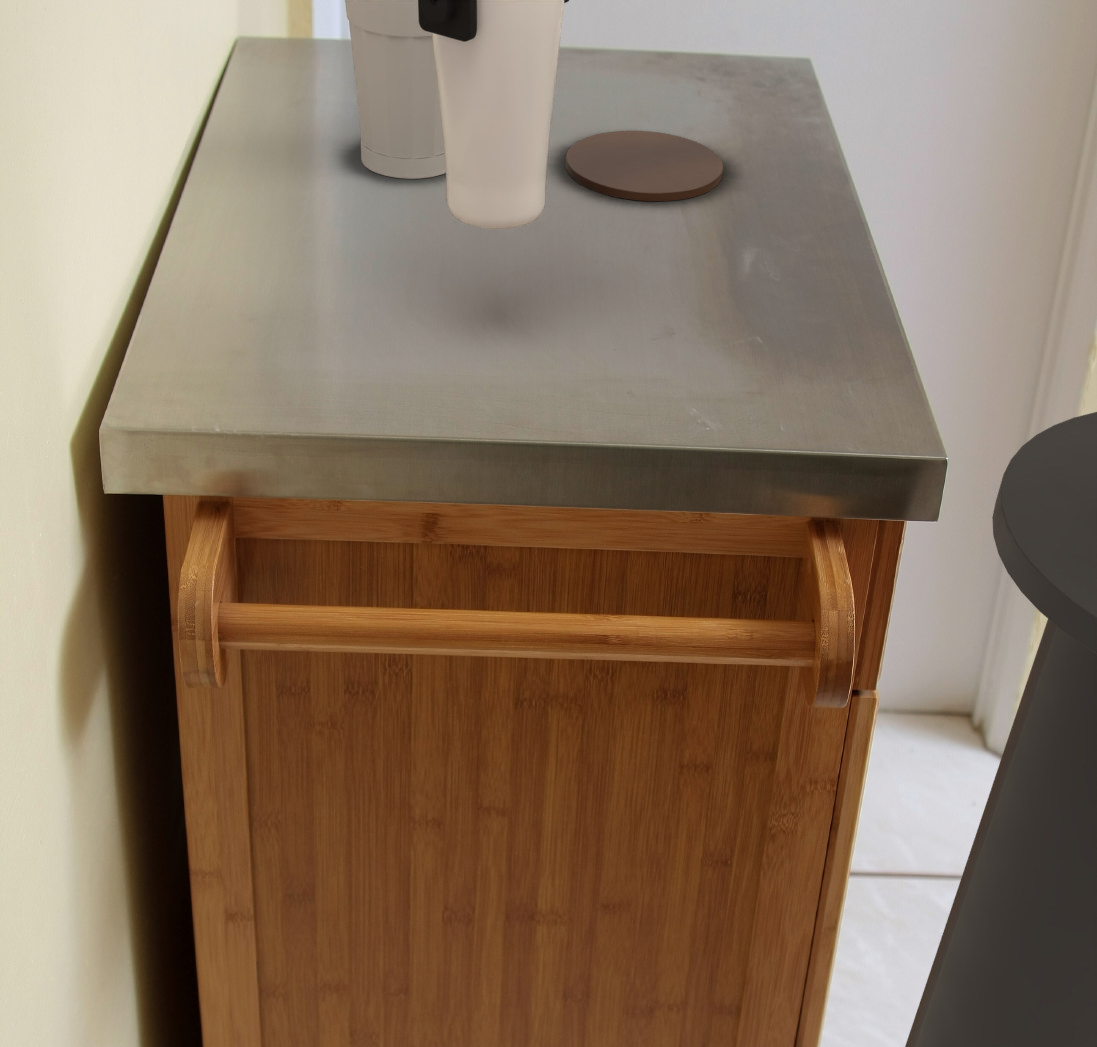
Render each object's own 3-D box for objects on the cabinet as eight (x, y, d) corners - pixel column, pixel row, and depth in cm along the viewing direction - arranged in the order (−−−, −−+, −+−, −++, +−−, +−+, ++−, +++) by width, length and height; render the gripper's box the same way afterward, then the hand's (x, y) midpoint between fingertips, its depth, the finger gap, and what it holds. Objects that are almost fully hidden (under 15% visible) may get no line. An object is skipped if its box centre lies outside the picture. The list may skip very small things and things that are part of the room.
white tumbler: (583, 222, 83) (595, -88, 73) (476, 249, 80) (474, -69, 70) (514, 179, 87) (517, -120, 77) (410, 203, 84) (399, -104, 74)
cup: (384, 127, 112) (379, -66, 103) (490, 150, 110) (493, -46, 101) (326, 168, 106) (315, -34, 97) (437, 192, 104) (435, -11, 95)
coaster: (751, 167, 110) (752, 159, 109) (665, 215, 103) (666, 206, 102) (624, 126, 114) (625, 118, 114) (534, 170, 107) (534, 161, 107)
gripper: (432, -413, 58) (442, 78, 70) (684, -441, 69) (656, -9, 81) (287, -430, 61) (321, 42, 73) (549, -454, 72) (541, -37, 84)
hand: (496, 12), depth 77 cm, fingers closed on white tumbler, 6 cm apart
